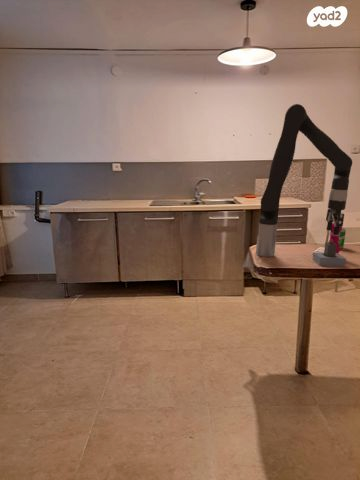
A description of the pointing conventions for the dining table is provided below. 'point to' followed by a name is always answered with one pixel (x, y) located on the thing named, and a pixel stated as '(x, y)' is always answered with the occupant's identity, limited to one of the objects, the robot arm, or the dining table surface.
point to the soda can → (342, 238)
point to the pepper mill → (335, 238)
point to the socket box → (329, 259)
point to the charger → (330, 249)
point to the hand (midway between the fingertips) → (332, 232)
